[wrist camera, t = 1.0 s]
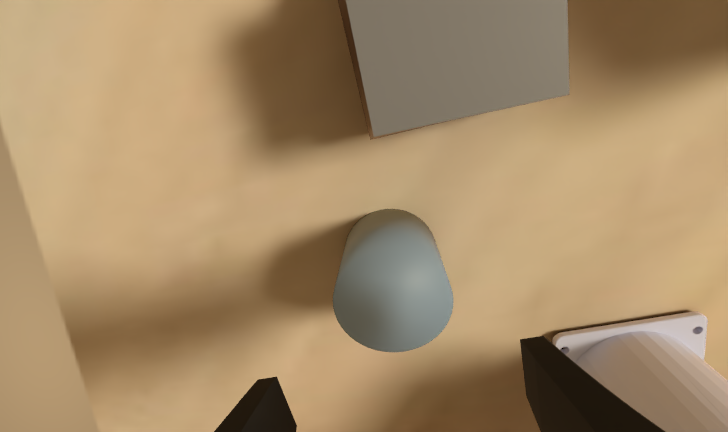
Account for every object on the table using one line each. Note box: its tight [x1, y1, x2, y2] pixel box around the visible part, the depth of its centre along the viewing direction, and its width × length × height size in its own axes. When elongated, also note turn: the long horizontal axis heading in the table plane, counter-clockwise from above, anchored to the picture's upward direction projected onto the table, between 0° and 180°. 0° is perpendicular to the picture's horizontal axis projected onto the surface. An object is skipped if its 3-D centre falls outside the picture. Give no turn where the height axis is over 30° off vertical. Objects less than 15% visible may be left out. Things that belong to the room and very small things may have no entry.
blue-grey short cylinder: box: [333, 209, 453, 352], centre depth 17 cm, size 5×5×5 cm
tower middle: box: [346, 0, 569, 137], centre depth 11 cm, size 6×6×3 cm
